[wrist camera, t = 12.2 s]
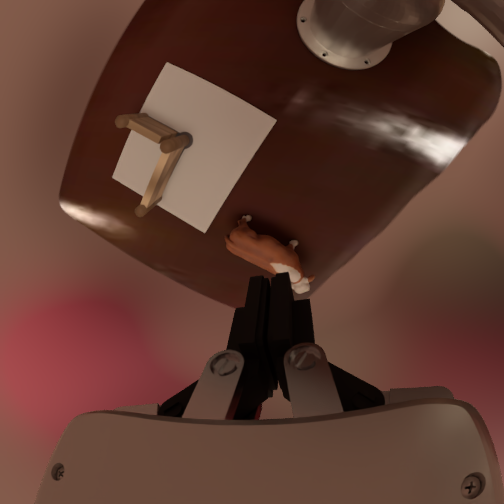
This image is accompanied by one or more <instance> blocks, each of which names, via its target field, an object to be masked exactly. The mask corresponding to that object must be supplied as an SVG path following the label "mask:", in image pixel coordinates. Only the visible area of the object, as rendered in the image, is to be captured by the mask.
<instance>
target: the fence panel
mask: <svg viewBox="0 0 504 504" xmlns="http://www.w3.org/2000/svg"><path fill="white" fill-rule="evenodd" d="M188 144H189V137H188V136H187V135H181V136H177V137H174V138H170V139H167V140H164V141H162V142H161V144H160V150H161V152H162V153H161V156H160V158H159V160H158V163H157V165H156V167H155V169H154V172H153V174H152V177H151V179H150V181H149V184H148V186H147V189H146V191H145V194H144V196H143V199H142V202H141V204H140V205H139V206H138V207H137V208H136V209H135V214H136V215H137V216H138V217H143V216H144V215H145V214H146V213H147V212H148V211H149V210H151V209H152V208H153V207H154V206H155V205H156V204H158V203H159V202H160V201H161V200H162V194H163V191H164V189H165V187H166V184H167V182H168V180H169V178H170V176H171V173H172V171H173V169H174V167H175V165H176V163H177V161H178V159H179V156H180V154H181V152H182V150H183V148H184V147H185V146H187V145H188Z"/></svg>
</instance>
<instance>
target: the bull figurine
mask: <svg viewBox="0 0 504 504" xmlns="http://www.w3.org/2000/svg"><path fill="white" fill-rule="evenodd" d="M251 219H252V217H251V216H250V215H247V216H243V217H242V219H241V220H238V224H239V227H236V228H235V229H233V230H232V232H231V234H230V235H225V236H224V238H225V241H226V242H227V243H226V247H227V249H228V250H229V251H230V252H232V253H233V254H235V255H237V256H240V257H241V258H243V259H245V260H247V261H249V262H251V263H253V264H255V265H257V266H259V267H261V268H263V269H265V270H267V271H269V272H271V273H273V274H274V275H276V273H283V272H289V276H290V281H291V282H292V284H291V286H292V289H294V290H295V292H296V293H300V294H301V293H303V292H306V291H309V289H310V285H309V282H312V281H313V279H314V278H315V275H311V276H309V277H308V278H305V275H304V271H303V269H302V267H301V264H300V263H299V257H298V255H297V253H296V252H295V251H294V248H295V247H294V246H297V245H298V241H297V240H291V241H290V242H289V243H290V244H289V245H288V246H284V245H282V244H281V243H280V242H279V241H278V240H276V239H275V238H273V237H271V236H269V235H258V234H256V232H255V231H253V230H252V229H250V228H249V227H248V225H247V221H251ZM228 237H229V238H228Z"/></svg>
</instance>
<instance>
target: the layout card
mask: <svg viewBox="0 0 504 504" xmlns="http://www.w3.org/2000/svg"><path fill="white" fill-rule="evenodd" d="M140 113H147V114H148V116H149V117H150V118H152V119H154V120H156V121H157V122H159V123H161V124H163V125H165V126H167V127H169V128H171V129H172V130H174V131H176V132H178V133H177V135H176V137H177V136H181V135H187V136H188V137H189V144H188V145H187V146H185V147H184V148H183V150H182V152H181V154H180V156H179V159H178V161H177V163H176V165H175V167H174V169H173V171H172V173H171V176H170V178H169V180H168V182H167V184H166V187H165V189H164V191H163V194H162V200H161V201H160V202H159V203H158V204H157V205H158V206H160V207H162V208H163V209H165V210H167V211H168V212H170V213H172V214H173V215H175V216H177V217H178V218H180V219H182V220H184V221H185V222H187V223H189V224H190V225H192V226H194V227H195V228H197V229H199V230H200V231H202V232H204V233H205V232H206V231H207V229H208V227H209V226H210V224H211V222H212V221H213V219H214V217H215V216H216V214H217V212H218V211H219V209H220V207H221V206H222V204H223V203H224V201H225V199H226V198H227V196H228V195H229V193H230V191H231V190H232V188H233V187H234V185H235V183H236V182H237V180H238V179H239V177H240V176H241V174H242V172H243V171H244V169H245V168H246V166H247V165H248V163H249V162H250V160H251V159H252V157H253V156H254V154H255V152H256V151H257V149H258V148H259V146H260V145H261V143H262V142H263V140H264V139H265V137H266V136H267V134H268V133H269V132H270V130H271V129H272V127H273V126H274V124H275V123H276V121H277V120H275V119H274V118H272V117H271V116H269V115H267V114H266V113H264V112H262V111H261V110H259V109H257V108H256V107H254V106H252V105H251V104H249V103H247V102H245V101H244V100H242V99H240V98H238V97H236V96H235V95H233V94H231V93H229V92H227V91H225V90H224V89H222V88H220V87H218V86H216V85H214V84H212V83H210V82H208V81H206V80H204V79H202V78H200V77H198V76H196V75H194V74H192V73H190V72H188V71H185V70H183V69H181V68H179V67H177V66H174V65H172V64H170V63H168V62H167V63H166V65H165V66H164V68H163V70H162V71H161V73H160V75H159V77H158V79H157V80H156V82H155V84H154V86H153V88H152V90H151V91H150V93H149V95H148V97H147V99H146V101H145V103H144V105H143V107H142V109H141V111H140ZM160 144H161V143H160ZM160 144H157V143H155V142H153V141H152V140H150V139H148V138H146V137H144V136H142V135H141V134H139V133H137V132H135V131H133V130H131V133H130V135H129V137H128V139H127V142H126V144H125V147H124V149H123V151H122V154H121V156H120V159H119V161H118V164H117V166H116V169H115V172H114V174H113V177H112V178H114V179H115V180H117V181H119V182H120V183H122V184H124V185H125V186H127V187H129V188H130V189H132V190H134V191H135V192H137V193H139V194H140V195H142V196H144V194H145V191H146V189H147V186H148V184H149V181H150V179H151V177H152V174H153V172H154V169H155V167H156V165H157V163H158V160H159V158H160V156H161V153H162V152H161V150H160Z"/></svg>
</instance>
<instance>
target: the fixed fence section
mask: <svg viewBox="0 0 504 504" xmlns="http://www.w3.org/2000/svg"><path fill="white" fill-rule="evenodd" d="M115 124H116V126H117V127H118V128H123V127H128V128H130V129H131V130H133V131H135V132H137V133H139V134H141V135H142V136H144V137H146V138H148V139H150V140H152V141H153V142H155V143H157V144H160V143H161V142H162V141H164V140H167V139H170V138H174V137H176V135H177V133H178V132H176V131H174V130H172V129H171V128H169V127H167V126H165V125H163V124H161V123H159V122H157V121H156V120H154V119H152V118H150V117H149V116H148V114H147V113H136V114H126V115H119V116H118V117H117V118H116V120H115Z"/></svg>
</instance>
